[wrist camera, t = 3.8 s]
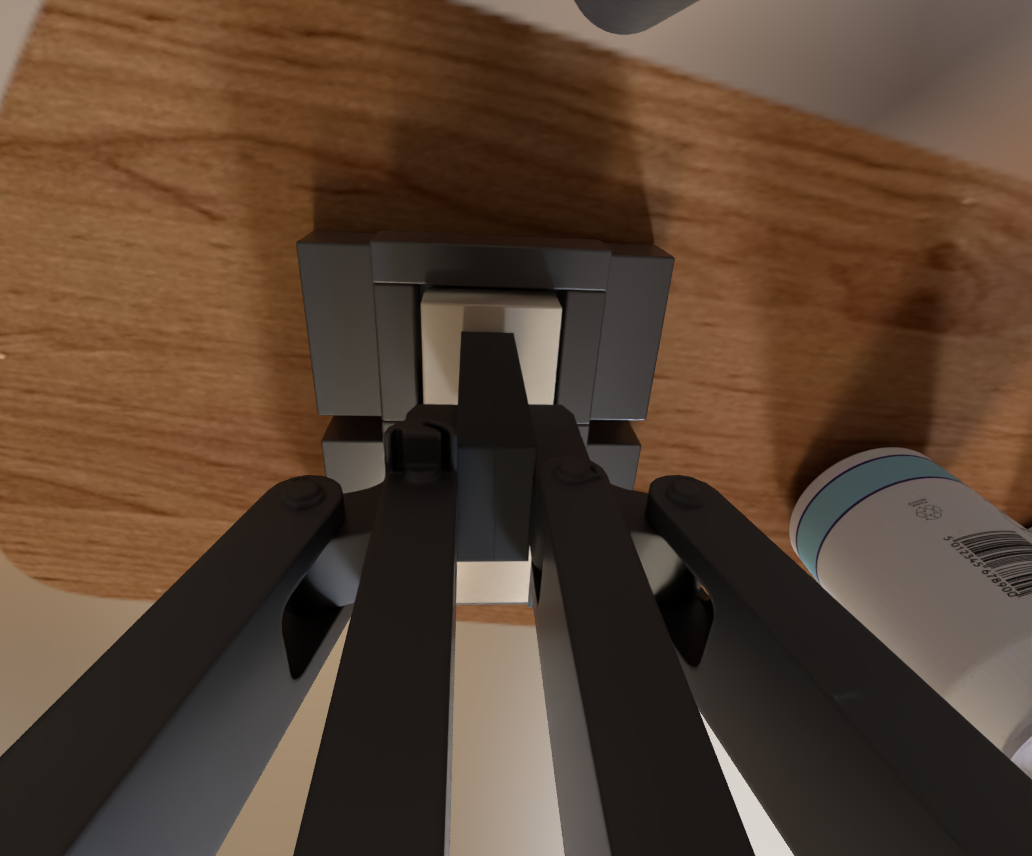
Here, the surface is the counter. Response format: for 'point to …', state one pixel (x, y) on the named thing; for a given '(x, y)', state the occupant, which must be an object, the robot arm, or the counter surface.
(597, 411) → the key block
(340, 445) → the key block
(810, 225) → the counter surface
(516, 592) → the e key
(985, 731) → the beverage can
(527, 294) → the c key
